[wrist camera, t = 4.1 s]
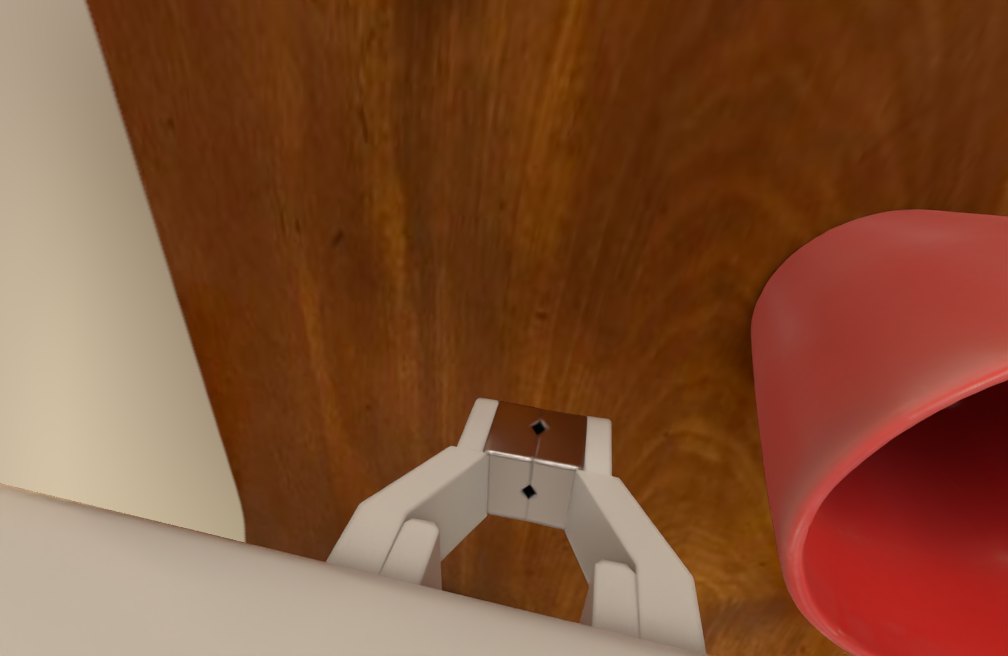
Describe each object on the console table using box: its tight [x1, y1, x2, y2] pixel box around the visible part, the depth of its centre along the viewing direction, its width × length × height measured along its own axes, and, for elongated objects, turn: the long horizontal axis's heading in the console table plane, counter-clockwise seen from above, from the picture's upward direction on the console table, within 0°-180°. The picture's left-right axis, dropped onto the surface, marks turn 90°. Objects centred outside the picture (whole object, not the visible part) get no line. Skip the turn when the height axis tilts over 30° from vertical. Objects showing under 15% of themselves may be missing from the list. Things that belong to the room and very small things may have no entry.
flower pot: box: [751, 209, 1008, 656], centre depth 12 cm, size 11×11×10 cm
